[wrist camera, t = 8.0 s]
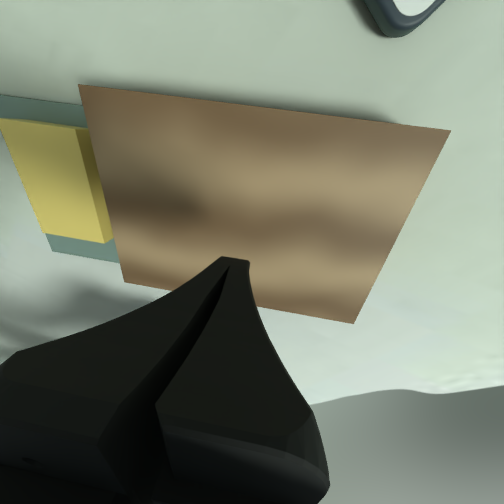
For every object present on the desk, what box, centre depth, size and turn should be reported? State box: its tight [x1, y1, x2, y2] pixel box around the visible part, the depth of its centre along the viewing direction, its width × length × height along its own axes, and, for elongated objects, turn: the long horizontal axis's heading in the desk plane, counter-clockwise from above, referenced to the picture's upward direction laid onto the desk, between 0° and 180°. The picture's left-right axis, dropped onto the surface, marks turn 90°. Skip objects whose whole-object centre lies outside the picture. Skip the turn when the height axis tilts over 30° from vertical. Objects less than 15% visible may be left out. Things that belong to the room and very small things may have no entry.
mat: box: [0, 95, 120, 263], centre depth 20 cm, size 14×11×1 cm
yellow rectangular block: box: [0, 118, 114, 244], centre depth 18 cm, size 9×6×2 cm, turn 173°
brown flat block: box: [78, 84, 451, 324], centre depth 17 cm, size 14×20×4 cm
